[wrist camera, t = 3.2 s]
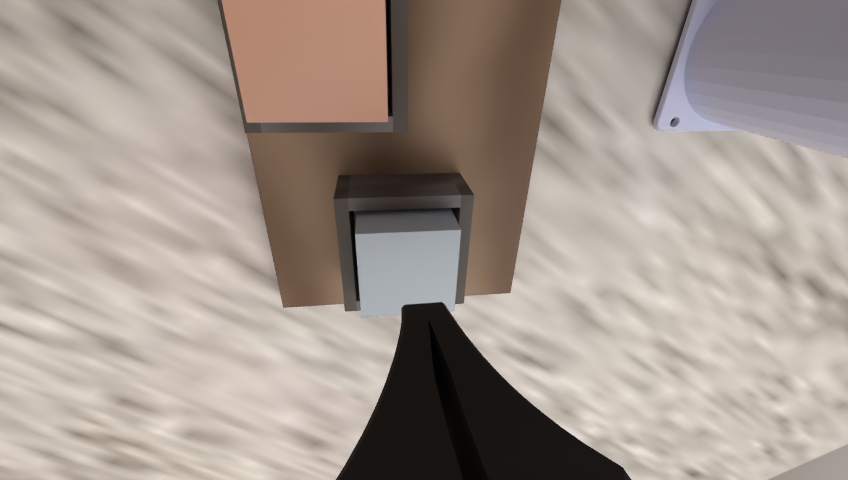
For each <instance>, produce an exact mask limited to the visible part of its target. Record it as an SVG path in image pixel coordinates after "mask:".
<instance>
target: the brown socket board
mask: <svg viewBox="0 0 848 480" xmlns="http://www.w3.org/2000/svg"><path fill="white" fill-rule="evenodd" d="M560 4H561V0H385V9H386V53H387V96H388V122H279V123H247V121H246V116H245V111H244V107H243V102H242V97H241V92H240V87H239V82H238V77H237V73H236V68H235V63H234V58H233V53H232V48H231V44H230V39H229V34H228V29H227V24H226V19H225V14H224V10H223V5H222V0H218V5H219V9H220V14H221V19H222V24H223V28H224V33H225V38H226V43H227V47H228V52H229V57H230V62H231V66H232V71H233V76H234V81H235V85H236V90H237V95H238V100H239V104H240V109H241V114H242V119H243V123H244V128H245V133H247V136H248V141H249V146H250V151H251V155H252V160H253V165H254V170H255V174H256V179H257V184H258V189H259V194H260V198H261V203H262V208H263V213H264V218H265V222H266V227H267V232H268V237H269V241H270V246H271V251H272V256H273V261H274V265H275V270H276V275H277V280H278V284H279V289H280V294H281V299H282V304H283V308H286V307H301V306H317V305H332V304H344V306H345V311H359V310H361V305H360V292H359V279H358V266H357V253H356V240H355V227H356V211H371V210H400V209H430V208H451V210H452V212H453V214H454V216H455V218H456V220H457V222H458V224H459V226H460V228H461V238H460V250H459V262H458V274H457V286H456V298H455V304H462V303H464V296H470V295H486V294H501V293H510V292H511V286H512V280H513V274H514V269H515V263H516V257H517V251H518V246H519V240H520V234H521V228H522V223H523V217H524V211H525V205H526V200H527V194H528V188H529V182H530V177H531V171H532V165H533V159H534V154H535V148H536V142H537V136H538V131H539V125H540V119H541V113H542V108H543V102H544V96H545V90H546V85H547V79H548V73H549V67H550V62H551V56H552V50H553V44H554V39H555V33H556V27H557V21H558V16H559V10H560Z"/></svg>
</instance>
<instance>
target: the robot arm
mask: <svg viewBox="0 0 848 480" xmlns="http://www.w3.org/2000/svg"><path fill="white" fill-rule="evenodd" d="M673 118H674V122H673V123H672V124H671V125H670V122H671V120H672V119H673ZM653 125H654V128H655V129H656V130H659V131H746V132H750V133H754V134H758V135H762V136H765V137H769V138H773V139H777V140H781V141H785V142H788V143H792V144H796V145H800V146H804V147H807V148H811V149H815V150H819V151H823V152H827V153H830V154H834V155H838V156H842V157H846V158H848V0H692V3H691V7H690V10H689V13H688V16H687V19H686V22H685V25H684V28H683V32H682V35H681V38H680V41H679V44H678V47H677V50H676V53H675V56H674V60H673V63H672V66H671V69H670V72H669V75H668V78H667V81H666V84H665V88H664V91H663V94H662V97H661V100H660V103H659V106H658V109H657V113H656V116H655V119H654V123H653ZM401 312H402V323H401V329H400V335H399V340H398V344H397V348H396V352H395V356H394V359H393V362H392V365H391V368H390V371H389V374H388V377H387V380H386V383H385V385H384V388H383V390H382V393H381V395H380V398H379V400H378V402H377V405H376V407H375V409H374V411H373V413H372V415H371V418H370V420H369V422H368V424H367V426H366V428H365V430H364V432H363V434H362V436H361V438H360V439H359V441H358V443H357V445H356V446H355V448H354V450H353V452H352V454H351V455H350V457H349V459H348V461H347V463H346V464H345V466H344V468H343V469H342V471H341V473H340V474H339V476H338V477H337V479H336V480H631V478H630V477H629V476H628V474H627V473H626V471H625V470H624V468H623V467H621V466H620V465H618V464H616V463H615V462H613V461H612V460H610V459H608V458H607V457H605V456H604V455H602V454H600V453H599V452H597V451H596V450H594V449H592V448H591V447H589V446H587V445H586V444H584V443H583V442H581V441H580V440H578V439H577V438H576V437H574V436H573V435H571V434H570V433H568V432H567V431H566V430H564V429H563V428H561V427H560V426H559V425H558V424H556V423H555V422H554V421H552V420H551V419H550V418H549V417H547V416H546V415H545V414H544V413H542V412H541V411H540V410H539V409H537V408H536V407H535V406H533V405H532V404H531V403H530V402H529V401H528V400H527V399H525V398H524V397H523V396H522V395H521V394H520V393H519V392H518V391H517V390H515V389H514V388H513V387H512V386H511V385H510V384H509V383H508V382H507V381H506V380H505V379H504V378H503V377H502V376H501V375H500V374H499V373H498V372H497V371H496V370H495V369H494V368H493V367H492V365H491V364H490V363H489V362H488V361H487V360H486V359H485V358H484V357H483V355H482V354H481V353H480V352H479V351H478V349H477V348H476V347H475V346H474V345H473V343H472V342H471V341H470V340H469V338H468V337H467V336H466V334H465V333H464V332H463V330H462V329H461V328H460V326H459V325H458V324H457V322H456V321H455V319H454V318H453V316H452V315H451V313H450V312H449V310H448V309H447V307H446V305H445V304H444V303H443V302H434V303H420V304H406V305H404V306H403V307H402V308H401Z"/></svg>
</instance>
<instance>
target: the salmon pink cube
mask: <svg viewBox="0 0 848 480" xmlns="http://www.w3.org/2000/svg"><path fill="white" fill-rule="evenodd" d="M222 5H223V10H224V14H225V19H226V24H227V29H228V34H229V39H230V44H231V48H232V53H233V58H234V63H235V68H236V73H237V77H238V82H239V87H240V92H241V97H242V102H243V107H244V111H245V116H246V121H247V123H279V122H388V96H387V53H386V9H385V0H222Z"/></svg>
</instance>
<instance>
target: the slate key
mask: <svg viewBox="0 0 848 480" xmlns="http://www.w3.org/2000/svg"><path fill="white" fill-rule="evenodd" d="M460 238H461V228H460V226H459V224H458V222H457V220H456V218H455V216H454V214H453V212H452V210H451V208H430V209H400V210H371V211H356V227H355V240H356V253H357V266H358V279H359V292H360V305H361V318H363V317H378V316H392V315H402V312H401V308H402V307H403V306H404V305H406V304H420V303H434V302H443V303H444V304H445V305H446V307H447V309H448V310H449V311H454V310H455V298H456V286H457V274H458V262H459V250H460Z"/></svg>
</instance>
